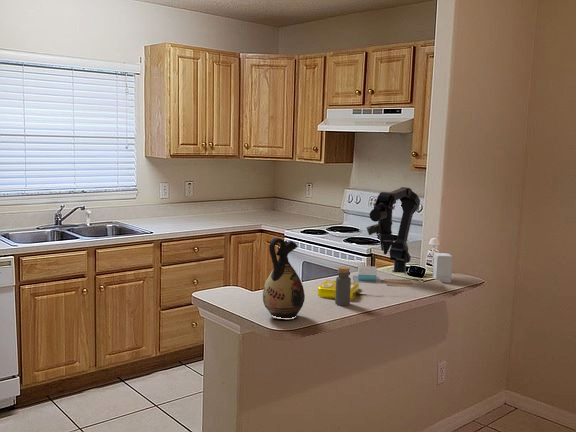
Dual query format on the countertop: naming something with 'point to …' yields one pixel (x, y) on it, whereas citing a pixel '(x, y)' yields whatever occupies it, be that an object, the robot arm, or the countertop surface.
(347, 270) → the bottle
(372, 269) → the block
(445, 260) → the supplement box
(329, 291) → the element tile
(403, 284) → the walnut stand
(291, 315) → the ceramic jug
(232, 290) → the countertop surface
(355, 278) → the slate stand
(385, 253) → the robot arm
